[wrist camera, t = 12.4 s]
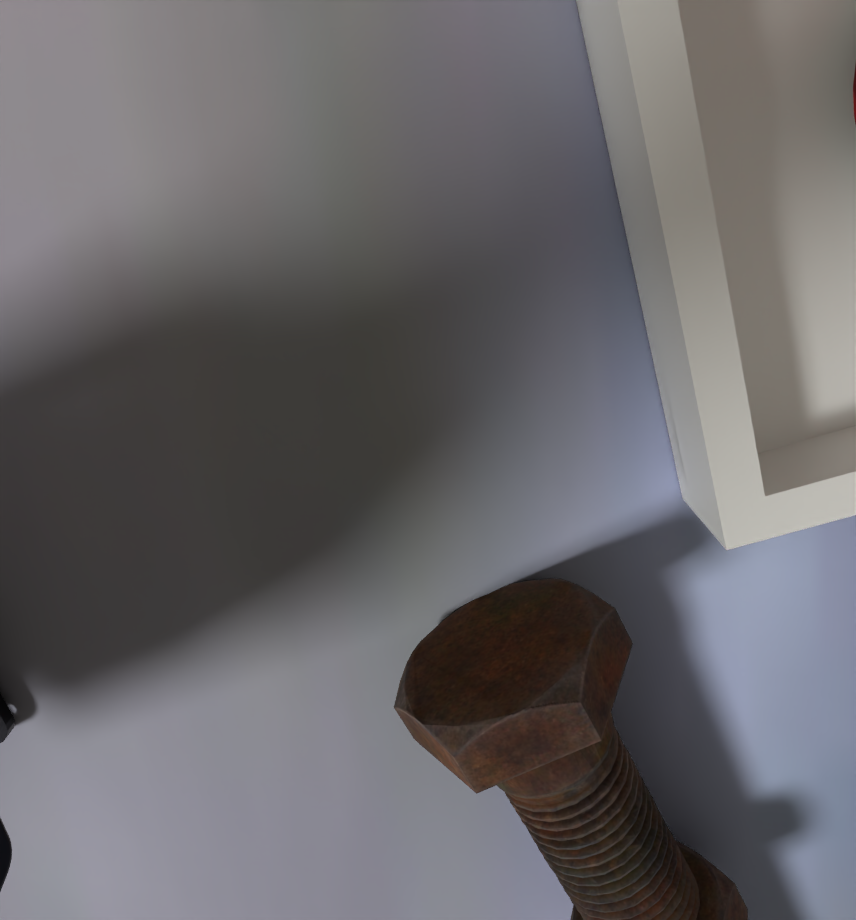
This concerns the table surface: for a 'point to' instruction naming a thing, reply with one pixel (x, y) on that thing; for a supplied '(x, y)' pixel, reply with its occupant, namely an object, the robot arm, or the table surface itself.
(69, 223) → the table surface
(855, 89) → the soda can
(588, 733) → the bolt
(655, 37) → the tray
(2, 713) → the robot arm
